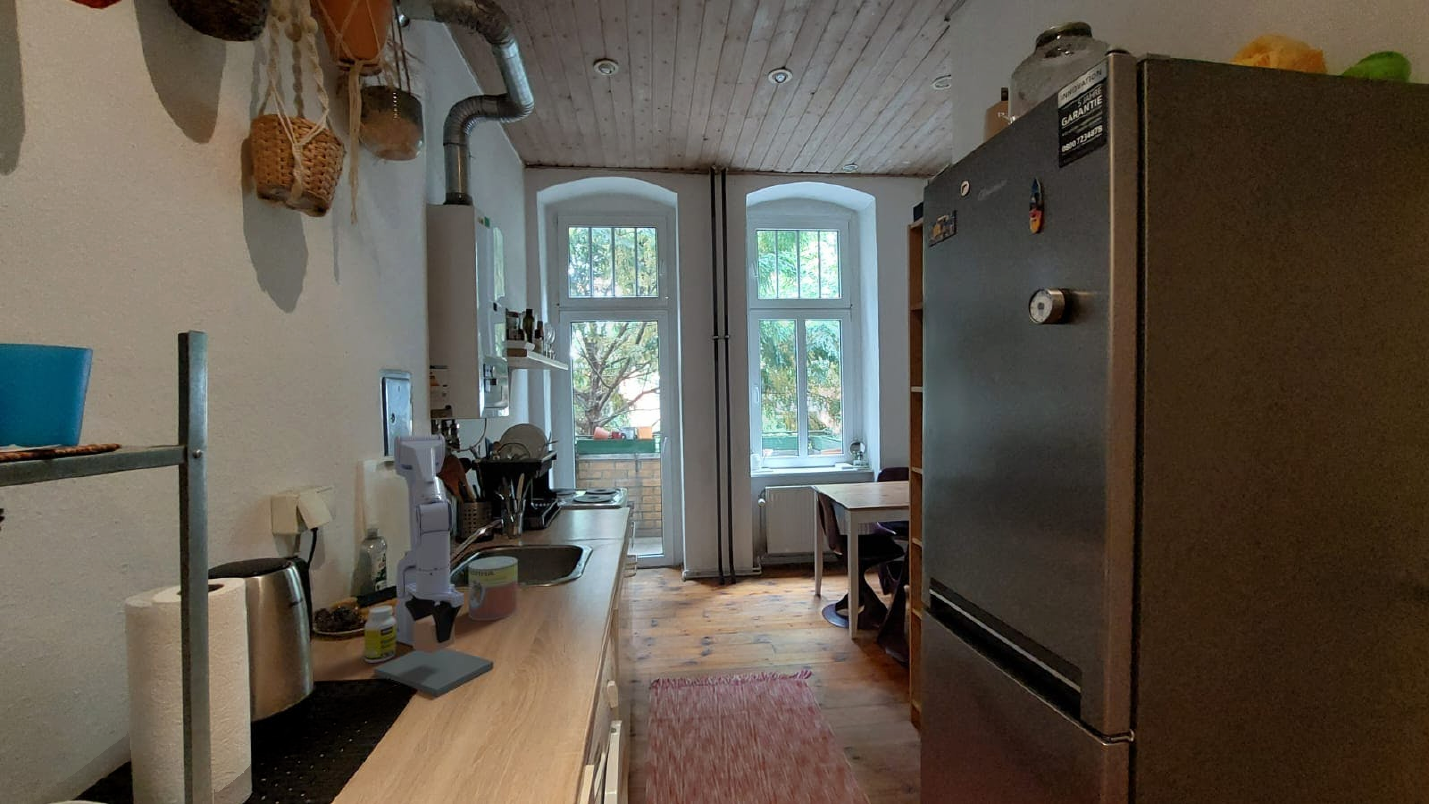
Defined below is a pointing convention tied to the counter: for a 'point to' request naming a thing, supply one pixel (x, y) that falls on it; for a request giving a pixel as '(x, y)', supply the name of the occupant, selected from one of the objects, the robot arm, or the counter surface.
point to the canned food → (493, 588)
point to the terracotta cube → (428, 636)
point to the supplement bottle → (380, 635)
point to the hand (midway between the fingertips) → (434, 638)
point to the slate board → (434, 670)
